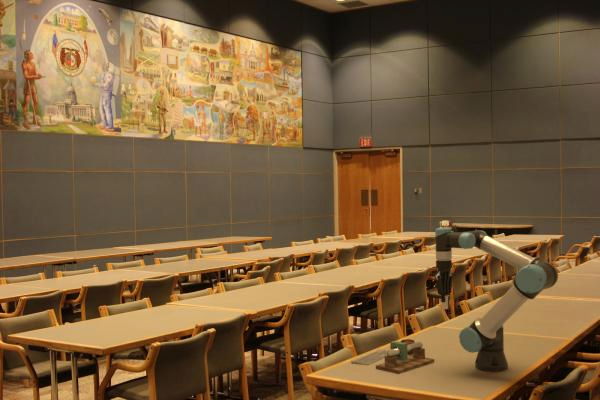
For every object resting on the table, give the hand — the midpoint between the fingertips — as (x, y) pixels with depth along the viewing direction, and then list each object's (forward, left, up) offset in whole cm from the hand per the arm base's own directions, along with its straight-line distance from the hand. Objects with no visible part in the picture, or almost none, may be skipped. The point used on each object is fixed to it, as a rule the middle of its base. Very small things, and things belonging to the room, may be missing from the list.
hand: (444, 308), depth 332 cm
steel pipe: (+10, -17, -22) cm, 30 cm away
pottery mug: (-11, -31, -29) cm, 44 cm away
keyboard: (+9, -38, -29) cm, 49 cm away
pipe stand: (+10, -17, -28) cm, 35 cm away
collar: (+15, -17, -24) cm, 33 cm away
